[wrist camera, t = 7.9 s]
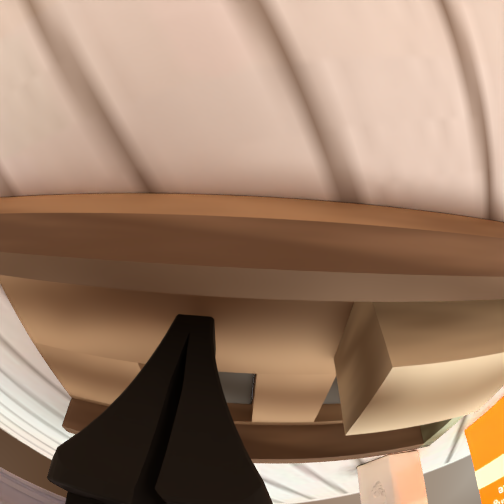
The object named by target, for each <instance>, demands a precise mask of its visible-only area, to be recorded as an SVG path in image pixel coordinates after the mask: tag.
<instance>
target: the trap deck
mask: <svg viewBox="0 0 504 504" xmlns="http://www.w3.org/2000/svg"><path fill="white" fill-rule="evenodd" d="M0 283H1V285H2V287H3V289H4V291H5V293H6V295H7V297H8V299H9V301H10V303H11V305H12V307H13V309H14V310H15V312H16V314H17V316H18V318H19V319H20V321H21V323H22V325H23V326H24V328H25V330H26V331H27V333H28V335H29V336H30V338H31V340H32V341H33V343H34V345H35V346H36V348H37V349H38V351H39V352H40V354H41V355H42V357H43V358H44V360H45V361H46V363H47V364H48V366H49V367H50V369H51V370H52V372H53V373H54V374H55V376H56V377H57V379H58V380H59V381H60V383H61V384H62V386H63V387H64V388H65V390H66V391H67V392H68V393H69V395H70V396H71V397H72V399H71V401H70V404H69V407H68V410H67V413H66V415H65V418H64V421H63V424H62V427H63V428H64V429H65V430H66V431H67V432H70V433H74V434H77V433H79V432H80V431H81V430H82V429H84V428H85V427H86V426H87V425H88V424H90V423H91V422H92V421H93V420H94V419H96V418H97V417H98V416H99V415H100V414H101V413H102V412H104V411H105V410H106V409H107V408H108V407H109V406H110V405H111V404H112V403H113V402H114V401H115V400H116V399H117V398H118V397H119V396H120V395H121V393H122V392H123V391H124V390H125V389H126V388H127V387H128V386H129V384H130V383H131V382H132V381H133V380H134V378H135V377H136V376H137V375H138V373H139V372H140V371H141V369H142V368H143V367H144V365H145V364H146V363H147V361H148V360H149V359H150V357H151V356H152V354H153V353H154V351H155V350H156V348H157V347H158V345H159V344H160V342H161V341H162V339H163V338H164V336H165V334H166V333H167V331H168V329H169V328H170V326H171V324H172V322H173V321H174V319H175V317H176V316H177V315H178V314H184V315H197V316H210V317H212V318H214V322H215V341H216V357H215V358H216V364H217V369H218V374H219V378H220V382H221V385H222V389H223V393H224V396H225V399H226V402H227V405H228V408H229V411H230V414H231V416H232V419H233V421H234V424H235V426H236V429H237V431H238V433H239V435H240V438H241V440H242V442H243V444H244V446H245V449H246V451H247V452H248V454H249V456H250V458H251V460H252V462H253V463H310V462H326V461H338V460H348V459H357V458H365V457H373V456H379V455H386V454H392V453H397V452H403V451H408V450H413V449H417V448H422V447H426V446H429V445H431V444H432V443H433V442H434V441H436V440H437V439H438V438H439V437H440V436H442V435H443V434H444V433H445V432H446V431H448V430H449V429H450V428H451V427H452V426H453V425H454V424H456V423H457V422H458V421H459V420H460V419H461V418H462V417H463V416H460V417H456V418H452V419H448V420H443V421H439V422H434V423H429V424H424V425H419V426H414V427H408V428H402V429H396V430H389V431H382V432H374V433H366V434H356V435H345V431H344V424H343V417H342V409H341V403H340V396H339V389H338V383H337V376H336V370H335V364H334V356H335V353H336V351H337V348H338V346H339V343H340V340H341V338H342V335H343V332H344V330H345V327H346V324H347V321H348V319H349V316H350V313H351V310H352V307H353V304H354V302H431V301H472V300H497V299H504V222H498V221H492V220H486V219H479V218H473V217H466V216H459V215H452V214H444V213H437V212H429V211H421V210H412V209H404V208H394V207H385V206H375V205H365V204H354V203H343V202H331V201H318V200H305V199H290V198H273V197H255V196H233V195H205V194H153V193H115V194H65V195H39V196H19V197H3V198H0ZM253 374H255V380H254V390H253V401H252V402H251V396H252V385H253Z"/></svg>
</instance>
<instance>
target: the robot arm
mask: <svg viewBox="0 0 504 504" xmlns="http://www.w3.org/2000/svg"><path fill="white" fill-rule="evenodd" d="M215 357H216V341H215V322H214V318H212V317H210V316H197V315H184V314H178V315H177V316H176V317H175V319H174V321H173V322H172V324H171V326H170V328H169V329H168V331H167V333H166V334H165V336H164V338H163V339H162V341H161V342H160V344H159V345H158V347H157V348H156V350H155V351H154V353H153V354H152V356H151V357H150V359H149V360H148V361H147V363H146V364H145V365H144V367H143V368H142V369H141V371H140V372H139V373H138V375H137V376H136V377H135V378H134V380H133V381H132V382H131V383H130V384H129V386H128V387H127V388H126V389H125V390H124V391H123V392H122V393H121V395H120V396H119V397H118V398H117V399H116V400H115V401H114V402H113V403H112V404H111V405H110V406H109V407H108V408H107V409H106V410H105V411H104V412H102V413H101V414H100V415H99V416H98V417H97V418H96V419H94V420H93V421H92V422H91V423H90V424H88V425H87V426H86V427H85V428H84V429H82V430H81V431H80V432H79V433H77V434H76V435H74V436H73V437H71V438H70V439H69V440H67V441H66V442H64V443H63V444H61V445H60V446H58V447H57V450H56V452H55V454H54V456H53V459H52V462H51V466H50V469H49V472H48V476H47V478H48V480H49V481H50V482H52V483H53V484H56V485H57V486H59V487H61V488H63V489H64V490H66V491H68V493H67V497H66V498H65V497H62V496H60V495H57V494H55V493H52V492H50V491H48V490H45V489H43V488H41V487H38V486H36V485H34V484H32V483H30V482H28V481H26V480H24V479H22V478H20V477H17V476H16V475H14V474H12V473H10V472H8V471H6V470H4V469H3V468H1V467H0V504H273V503H272V501H271V498H270V496H269V493H268V491H267V489H266V486H265V484H264V481H263V479H262V478H261V476H260V474H259V473H258V471H257V469H256V468H255V466H254V464H253V462H252V460H251V458H250V456H249V454H248V452H247V451H246V449H245V446H244V444H243V442H242V440H241V438H240V435H239V433H238V431H237V429H236V426H235V424H234V421H233V419H232V416H231V414H230V411H229V408H228V405H227V402H226V399H225V396H224V393H223V389H222V385H221V382H220V378H219V374H218V369H217V364H216V358H215Z"/></svg>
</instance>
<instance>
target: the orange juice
mask: <svg viewBox="0 0 504 504" xmlns="http://www.w3.org/2000/svg"><path fill="white" fill-rule="evenodd" d="M465 435H466V438H467V442H468V445H469V449H470V453H471V456H472V460H473V464H474V469H475V475H476V479H477V484H478V488H479V491H480V496H481V501H482V504H504V396H503V397H502V398H501V399H500V400H499V401H498V402H497V403H496V404H495V405H494V406H493V407H492V408H490V409H489V410H488V411H487V412H486V413H485V414H484V415H483V416H481V417H480V418H479V419H478V420H477V421H476V422H474V423H473V424H472V425H471V426H470V427H468V428H467V429H466V430H465Z"/></svg>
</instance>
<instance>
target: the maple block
mask: <svg viewBox="0 0 504 504" xmlns="http://www.w3.org/2000/svg"><path fill="white" fill-rule="evenodd" d="M334 364H335V370H336V376H337V383H338V389H339V396H340V403H341V409H342V417H343V424H344V431H345V435H356V434H366V433H374V432H382V431H389V430H396V429H402V428H408V427H414V426H419V425H424V424H429V423H434V422H439V421H443V420H448V419H452V418H456V417H460V416H464V415H468V414H471V413H475V412H477V411H478V410H479V409H480V408H481V407H483V406H484V405H485V404H486V403H487V402H488V401H489V400H490V399H491V398H492V397H493V396H494V395H495V394H496V393H497V392H498V391H499V390H500V388H501V387H502V386H503V385H504V299H497V300H472V301H431V302H354V304H353V307H352V310H351V313H350V316H349V319H348V321H347V324H346V327H345V330H344V332H343V335H342V338H341V340H340V343H339V346H338V348H337V351H336V353H335V356H334Z"/></svg>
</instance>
